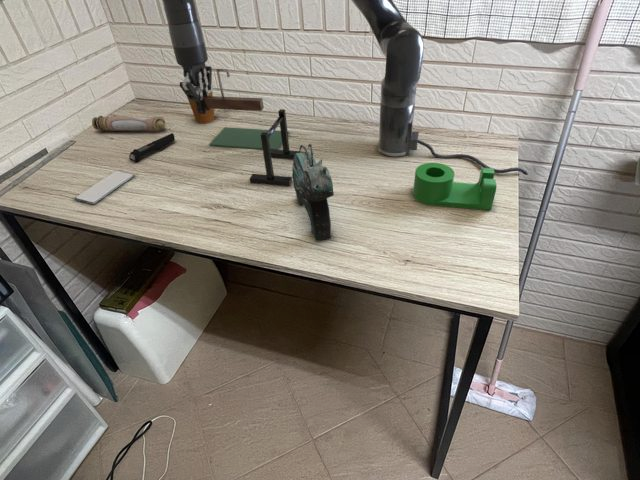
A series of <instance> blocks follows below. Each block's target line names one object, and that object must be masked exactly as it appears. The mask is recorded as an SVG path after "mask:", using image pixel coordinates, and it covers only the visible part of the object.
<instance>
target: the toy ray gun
mask: <svg viewBox="0 0 640 480" xmlns="http://www.w3.org/2000/svg"><path fill="white" fill-rule="evenodd" d="M307 147H308V149H309V148H310V149H309V150H310V152H309V151H308V149H307V148H306V146H305V145H304V144H301V145H300V146H299V150H298V151H299V153H296V154H295V155H294V159H292V160H293V161H292V166H291V167H292V171H291V172H292V175H291V177H292V184H293V189H294V191H295V195H296V196H295V197H296V200H297V203H298V205H299V206H303V207H304V209H305V212H306V213H307V216H308V219H309V222H310V230H311V234H312V236H313V237H314V240H315V242H319V241H325V240H328V239H331V238H332V237H331V236H332V234H331V233H332V231H331V230H332V229H331V227H332V225H331V224H332V222H331V214H330V207H329V202H328V201H329V200H328V198H331V197H334V195H335V193H334V185H333V179H332V176H331V172H330V170H329V169H328V168H327V166H325V165H323V158H321V159H320V160H319V161H316V159H315V157H314V150H313V145H312V143H309V144H308V145H307ZM302 149H304V152H301V151H302Z"/></svg>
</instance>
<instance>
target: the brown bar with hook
mask: <svg viewBox="0 0 640 480" xmlns="http://www.w3.org/2000/svg"><path fill="white" fill-rule="evenodd" d="M215 71H216V76H217V80H218V85H219V90H220V94H221V95H220V96H203V99H204V102H205V107H206V108H209V109H214V110H215V109H216V110H231V111H233V110H234V111H255V112H262V111H263V110H264V109H265V107H264V106H265V105H264V100H263V99H264V98H263V97H243V96H242V97H239V96H225V94H224V93H225V92H224V88H223V84H222V83H223V82H222V78H221V74H220V72H226V77H227V78H230V71H229V68H216V70H215Z"/></svg>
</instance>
